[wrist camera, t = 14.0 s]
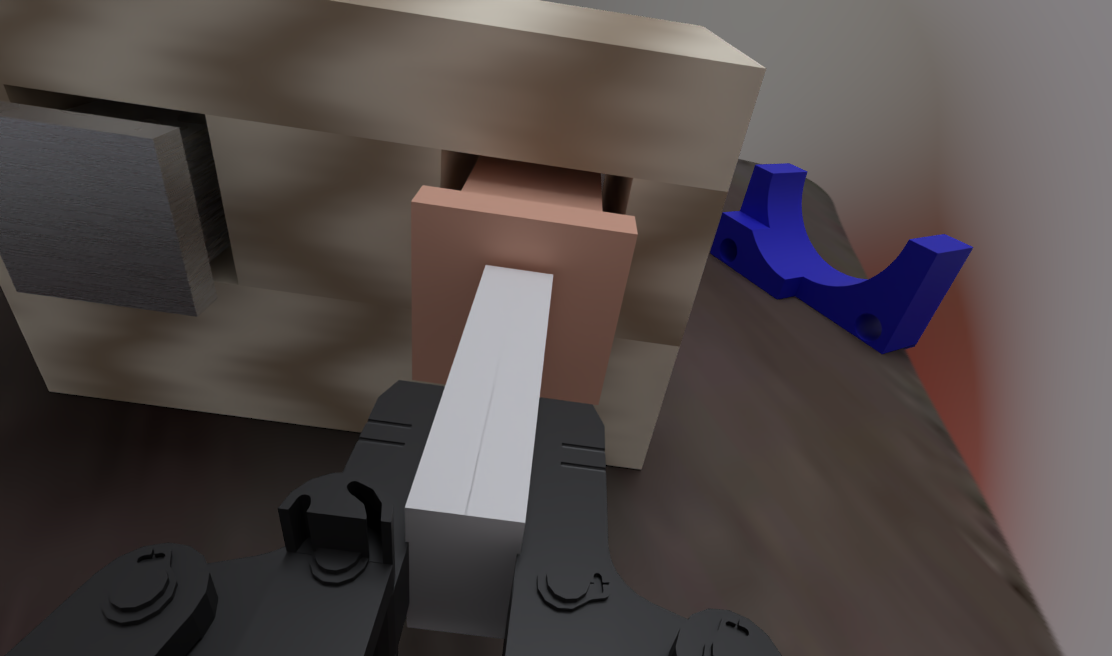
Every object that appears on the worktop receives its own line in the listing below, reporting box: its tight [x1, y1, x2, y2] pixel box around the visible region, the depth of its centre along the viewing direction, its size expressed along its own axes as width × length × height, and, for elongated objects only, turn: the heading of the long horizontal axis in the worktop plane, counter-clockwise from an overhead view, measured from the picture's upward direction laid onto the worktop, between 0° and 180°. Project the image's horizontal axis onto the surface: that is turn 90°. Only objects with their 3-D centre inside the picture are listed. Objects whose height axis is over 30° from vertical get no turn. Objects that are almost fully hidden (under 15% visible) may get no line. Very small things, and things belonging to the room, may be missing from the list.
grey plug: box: [0, 99, 231, 317], centre depth 19 cm, size 5×12×5 cm, turn 177°
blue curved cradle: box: [710, 163, 973, 354], centre depth 33 cm, size 12×4×6 cm, turn 28°
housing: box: [0, 0, 766, 470], centre depth 20 cm, size 21×9×14 cm, turn 87°
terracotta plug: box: [411, 155, 638, 405], centre depth 19 cm, size 5×12×5 cm, turn 177°
